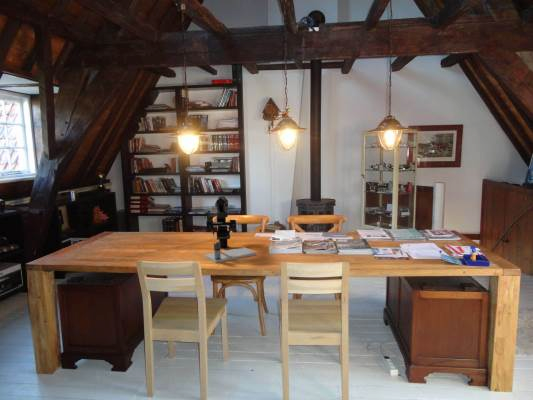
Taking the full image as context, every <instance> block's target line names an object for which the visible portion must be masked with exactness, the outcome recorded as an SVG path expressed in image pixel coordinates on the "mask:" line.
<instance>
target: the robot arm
mask: <svg viewBox="0 0 533 400" xmlns="http://www.w3.org/2000/svg"><path fill="white" fill-rule="evenodd" d="M214 206H215V209H216V221H213V220H207V221H206V225H205V226H206V229H207V230H209V231H211V233H212V235H213V236H215V228H214V227H217V230H216V240H218V242H220V247H221V250H223V249H228V248H230V246H229V245H228V240H230V239H231V232H232V230H234V229H236V228H237V220H236V219H229V221H227V218H228V215H229V214H228V213H229V211H228V208H229V200H228V199H227V198H226V196H224V195H223V196H222V195H221V196H218V198H217V199H216V201H215V203H214Z"/></svg>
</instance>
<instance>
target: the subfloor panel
mask: <svg viewBox="0 0 533 400" xmlns="http://www.w3.org/2000/svg"><path fill="white" fill-rule="evenodd" d="M257 253H258V252H257V251H254V250H251V249H250V248H247V247H245V246H244V247H238V248H233V249H228V250H223V251H221V250H220V254H221V259H220V260H215V254H214V252H211V253H206V254H204V255H203V256H204V258H206V259H208V260H210V261H211V262H213V263H215V264H217V263H222V262H227V261H231V260H237V259H241V258H246V257H251V256H255V255H257Z"/></svg>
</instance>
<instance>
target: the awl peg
mask: <svg viewBox="0 0 533 400" xmlns="http://www.w3.org/2000/svg"><path fill="white" fill-rule="evenodd" d="M221 250H222V249H221V247H220V242H219V241H217V242H213V251H214V252H213V253H214V254H215V260H220V259H221V254H220V252H221Z"/></svg>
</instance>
